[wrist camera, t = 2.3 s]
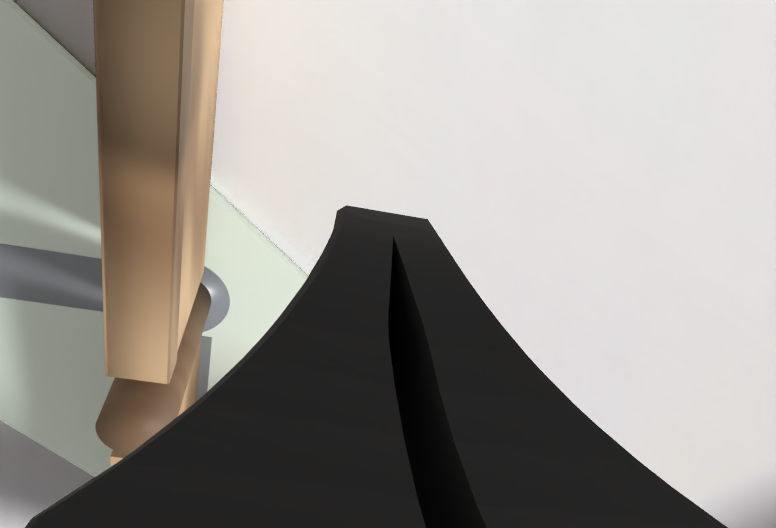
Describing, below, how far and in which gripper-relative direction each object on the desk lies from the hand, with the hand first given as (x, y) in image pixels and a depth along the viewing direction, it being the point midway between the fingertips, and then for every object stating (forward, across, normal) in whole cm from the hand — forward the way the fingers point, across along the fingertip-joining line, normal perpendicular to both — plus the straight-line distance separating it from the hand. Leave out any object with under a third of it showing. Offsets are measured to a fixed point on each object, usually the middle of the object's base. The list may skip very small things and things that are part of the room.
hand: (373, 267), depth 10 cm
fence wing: (+6, +4, +1) cm, 7 cm away
